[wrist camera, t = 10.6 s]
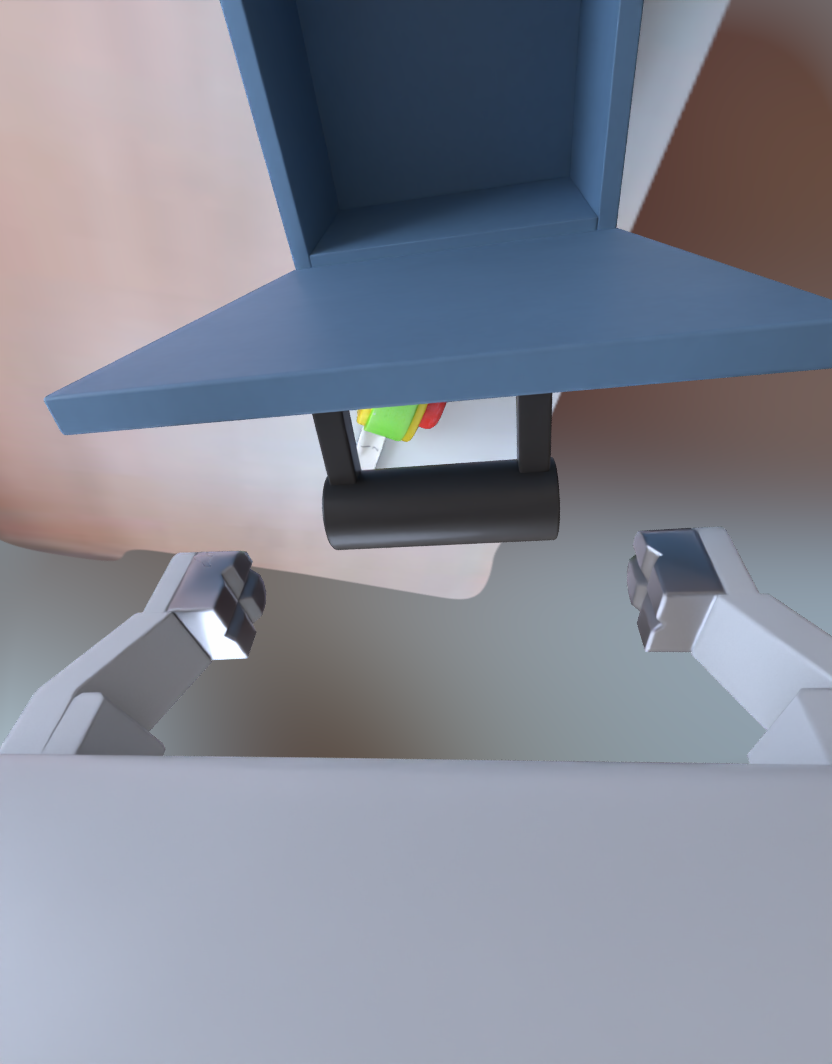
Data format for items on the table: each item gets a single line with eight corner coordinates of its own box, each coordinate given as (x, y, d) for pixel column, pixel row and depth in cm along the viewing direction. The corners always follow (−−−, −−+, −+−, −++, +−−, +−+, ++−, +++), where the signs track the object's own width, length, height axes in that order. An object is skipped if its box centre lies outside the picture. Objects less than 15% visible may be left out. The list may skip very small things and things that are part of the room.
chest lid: (39, 397, 10) (153, 603, 12) (880, 314, 8) (782, 582, 10) (292, 270, 23) (318, 383, 26) (618, 227, 21) (607, 355, 24)
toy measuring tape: (480, 299, 32) (483, 345, 27) (385, 507, 45) (376, 562, 41) (384, 258, 31) (370, 299, 26) (315, 485, 44) (298, 539, 39)
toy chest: (226, -249, 19) (110, -384, 13) (623, -365, 17) (716, -594, 11) (332, 223, 30) (297, 276, 23) (581, 188, 28) (615, 235, 21)
